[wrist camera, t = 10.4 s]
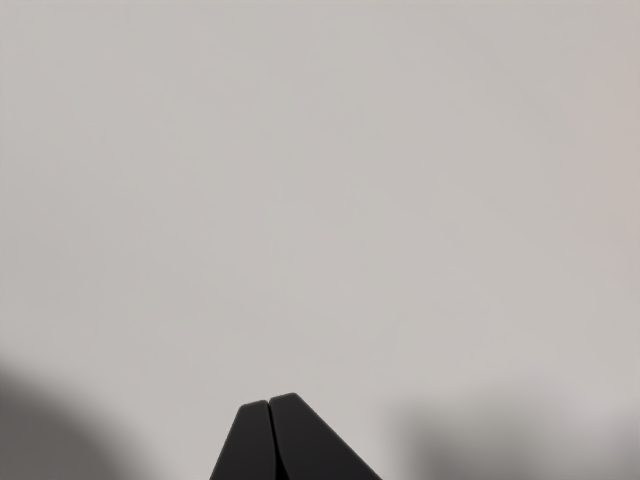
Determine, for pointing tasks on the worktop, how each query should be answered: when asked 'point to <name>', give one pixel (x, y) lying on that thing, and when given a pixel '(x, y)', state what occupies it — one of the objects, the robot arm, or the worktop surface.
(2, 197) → the worktop surface
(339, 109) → the worktop surface
